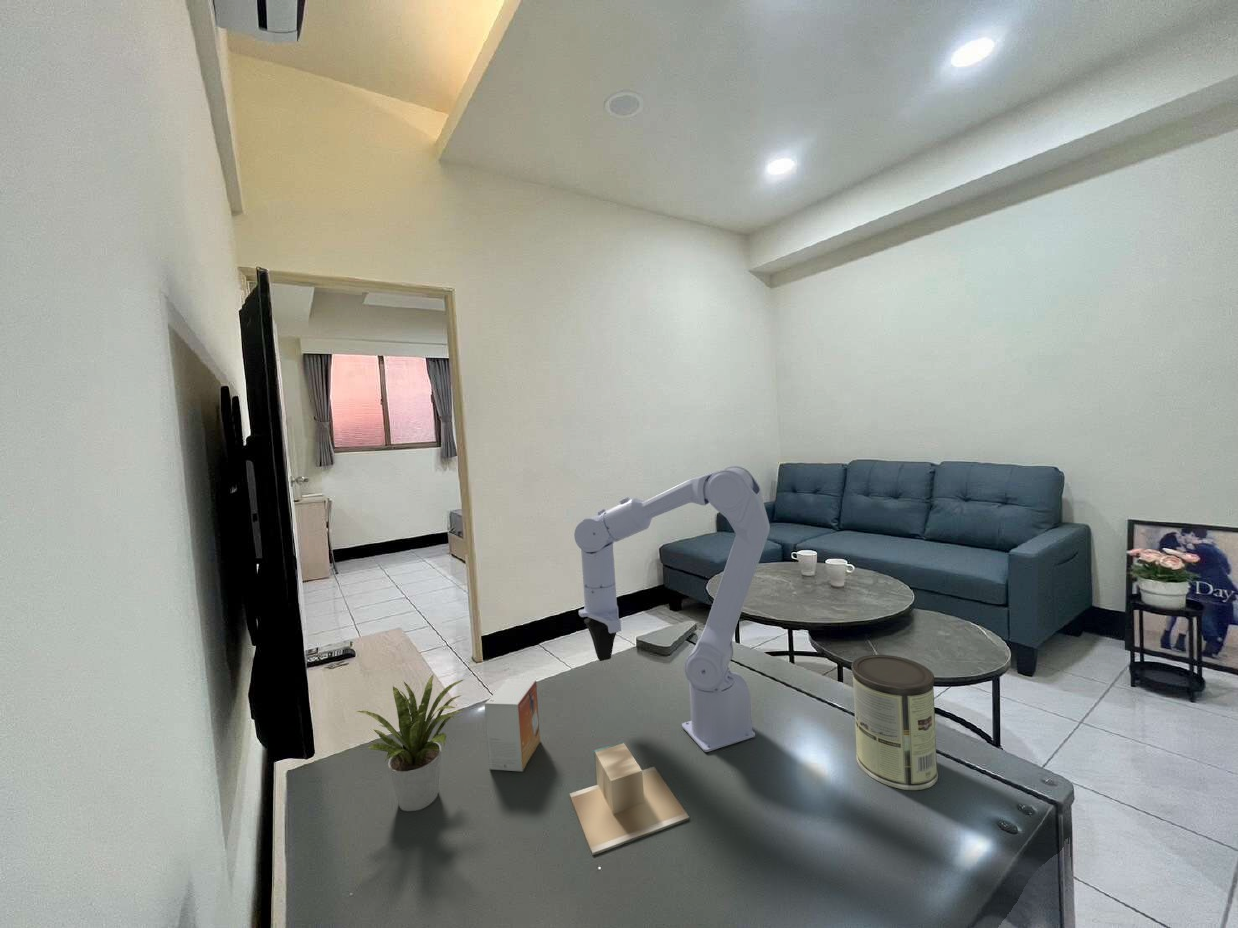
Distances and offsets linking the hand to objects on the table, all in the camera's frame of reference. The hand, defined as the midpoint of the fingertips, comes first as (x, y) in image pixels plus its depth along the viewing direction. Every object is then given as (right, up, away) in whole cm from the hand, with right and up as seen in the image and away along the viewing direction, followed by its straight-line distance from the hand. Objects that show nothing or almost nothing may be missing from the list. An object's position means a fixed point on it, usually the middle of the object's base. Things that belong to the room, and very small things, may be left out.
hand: (604, 658), depth 87 cm
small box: (-14, -12, -9) cm, 20 cm away
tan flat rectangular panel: (+4, -11, -22) cm, 25 cm away
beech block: (+1, -8, -16) cm, 18 cm away
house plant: (-25, -13, -17) cm, 33 cm away
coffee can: (+42, -9, -17) cm, 47 cm away
